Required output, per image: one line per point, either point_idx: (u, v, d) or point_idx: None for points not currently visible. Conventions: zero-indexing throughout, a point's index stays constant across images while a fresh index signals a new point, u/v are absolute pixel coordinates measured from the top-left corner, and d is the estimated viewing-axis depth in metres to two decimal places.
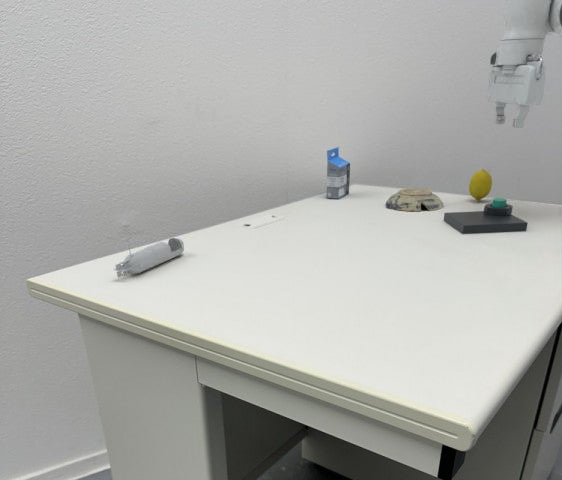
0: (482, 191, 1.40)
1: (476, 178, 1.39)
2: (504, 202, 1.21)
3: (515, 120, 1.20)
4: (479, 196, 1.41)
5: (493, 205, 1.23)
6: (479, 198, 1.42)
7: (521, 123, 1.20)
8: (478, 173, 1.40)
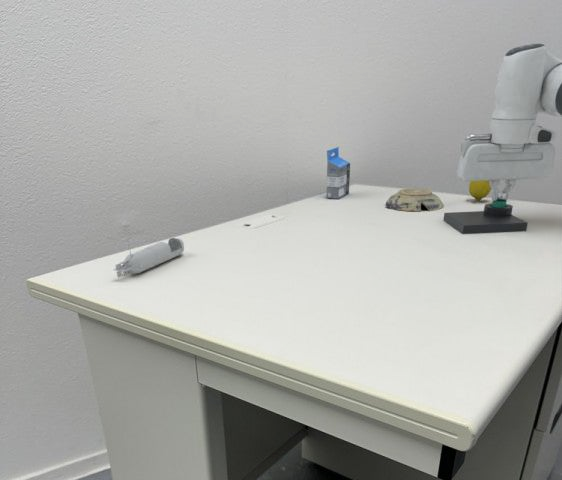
0: (482, 191, 1.40)
1: None
2: (504, 203, 1.22)
3: None
4: (479, 196, 1.41)
5: (493, 206, 1.23)
6: (479, 198, 1.42)
7: (494, 196, 1.22)
8: None
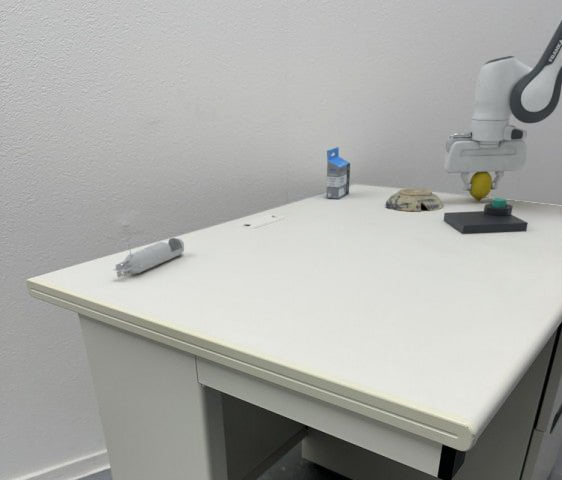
0: (482, 191, 1.40)
1: (476, 178, 1.39)
2: (504, 202, 1.21)
3: None
4: (479, 196, 1.41)
5: (493, 205, 1.23)
6: (479, 198, 1.42)
7: (465, 187, 1.41)
8: (478, 173, 1.40)
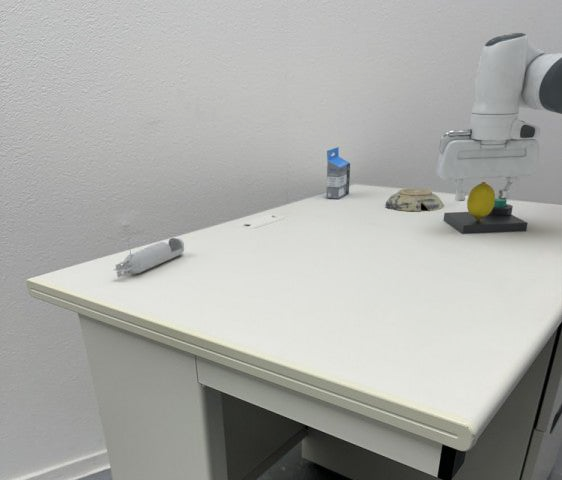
0: (483, 209, 1.15)
1: (476, 193, 1.14)
2: (504, 202, 1.21)
3: None
4: (480, 215, 1.16)
5: None
6: (479, 217, 1.17)
7: (457, 196, 1.15)
8: (478, 187, 1.14)
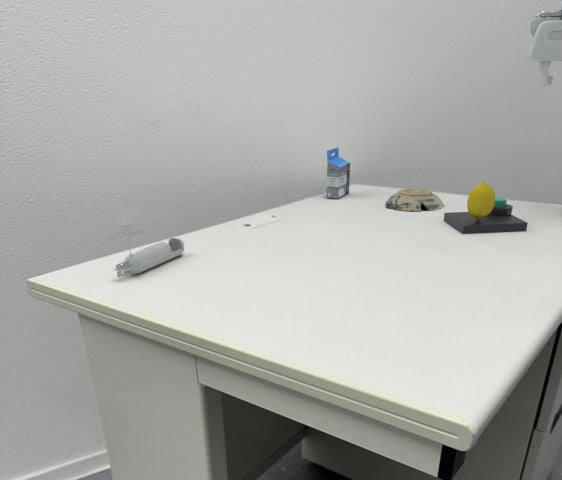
0: (483, 209, 1.15)
1: (476, 193, 1.14)
2: (504, 202, 1.21)
3: None
4: (480, 215, 1.16)
5: None
6: (479, 217, 1.17)
7: (544, 81, 1.20)
8: (478, 187, 1.14)
